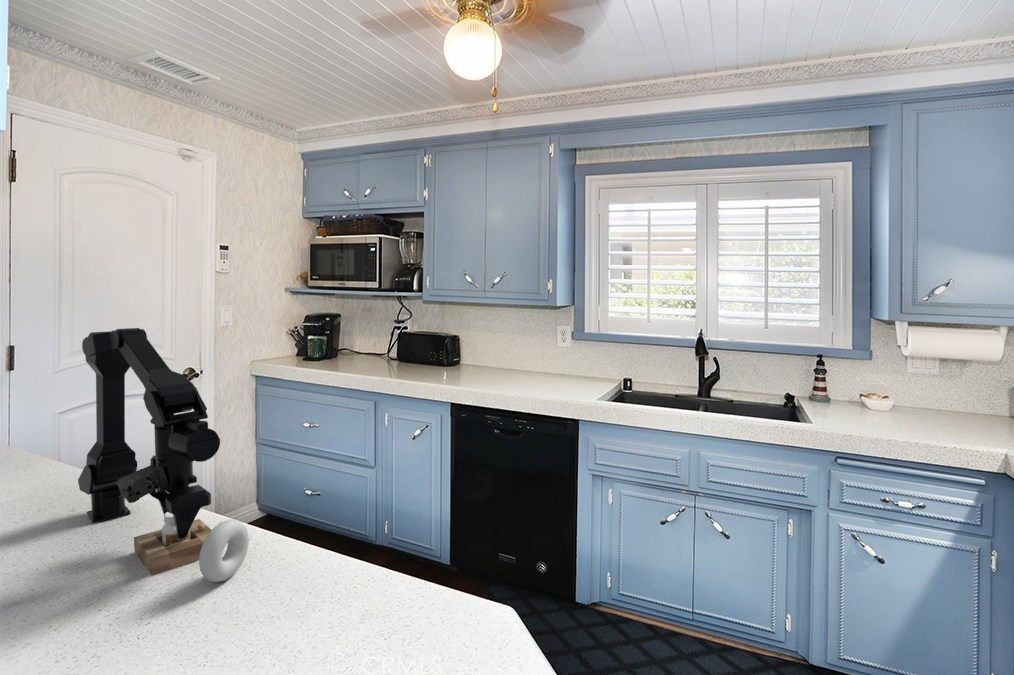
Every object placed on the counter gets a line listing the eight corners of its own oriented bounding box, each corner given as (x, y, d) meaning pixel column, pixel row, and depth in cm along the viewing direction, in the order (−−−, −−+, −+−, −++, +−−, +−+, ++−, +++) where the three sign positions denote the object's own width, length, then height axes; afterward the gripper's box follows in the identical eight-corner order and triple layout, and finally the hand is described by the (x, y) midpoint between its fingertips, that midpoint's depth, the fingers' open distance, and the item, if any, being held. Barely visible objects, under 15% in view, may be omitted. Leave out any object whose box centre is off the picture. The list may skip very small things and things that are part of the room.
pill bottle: (168, 561, 96) (166, 520, 95) (159, 552, 99) (157, 513, 98) (194, 552, 100) (192, 512, 99) (185, 544, 103) (183, 505, 102)
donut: (213, 595, 86) (211, 536, 85) (194, 592, 87) (192, 534, 86) (254, 564, 96) (252, 511, 95) (237, 562, 97) (235, 508, 96)
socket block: (134, 552, 99) (133, 531, 99) (199, 533, 107) (199, 514, 107) (151, 575, 92) (150, 553, 91) (220, 552, 100) (219, 532, 99)
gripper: (107, 447, 98) (111, 529, 99) (135, 474, 85) (139, 567, 87) (176, 436, 106) (179, 511, 107) (211, 458, 93) (213, 544, 95)
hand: (176, 532), depth 99 cm, fingers open, 6 cm apart
